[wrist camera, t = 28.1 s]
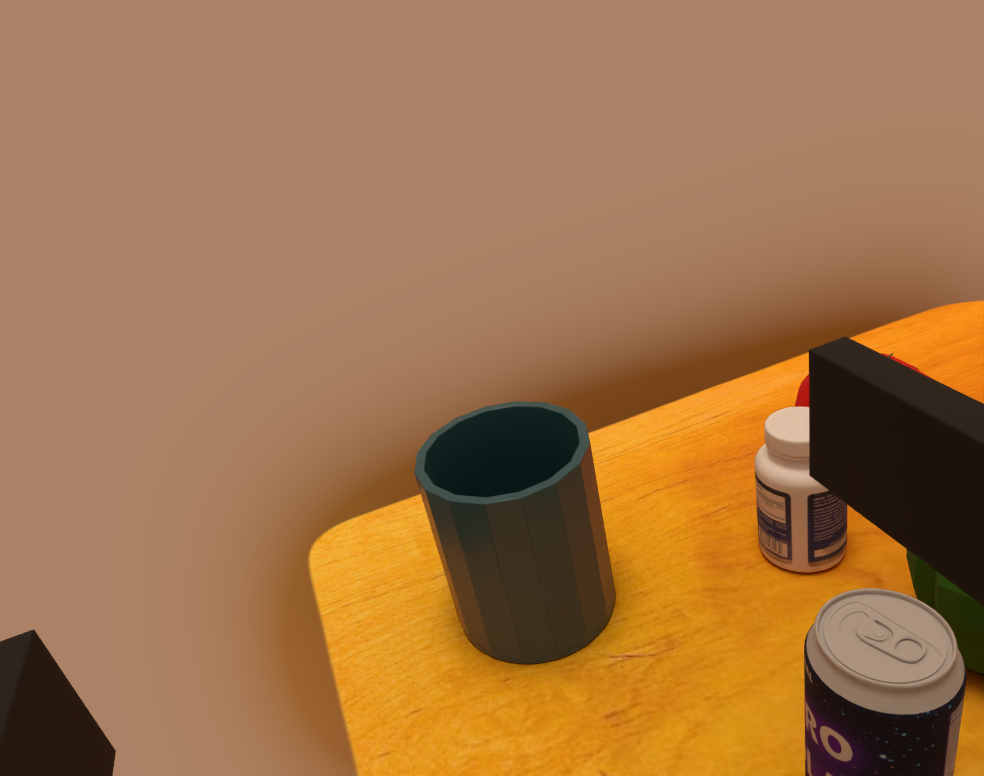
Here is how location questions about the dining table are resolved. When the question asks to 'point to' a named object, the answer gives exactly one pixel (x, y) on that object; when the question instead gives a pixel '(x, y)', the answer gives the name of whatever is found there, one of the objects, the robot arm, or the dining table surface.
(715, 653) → the dining table surface
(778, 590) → the dining table surface
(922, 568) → the bell pepper
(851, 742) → the beverage can
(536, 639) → the tin
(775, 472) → the pill bottle
